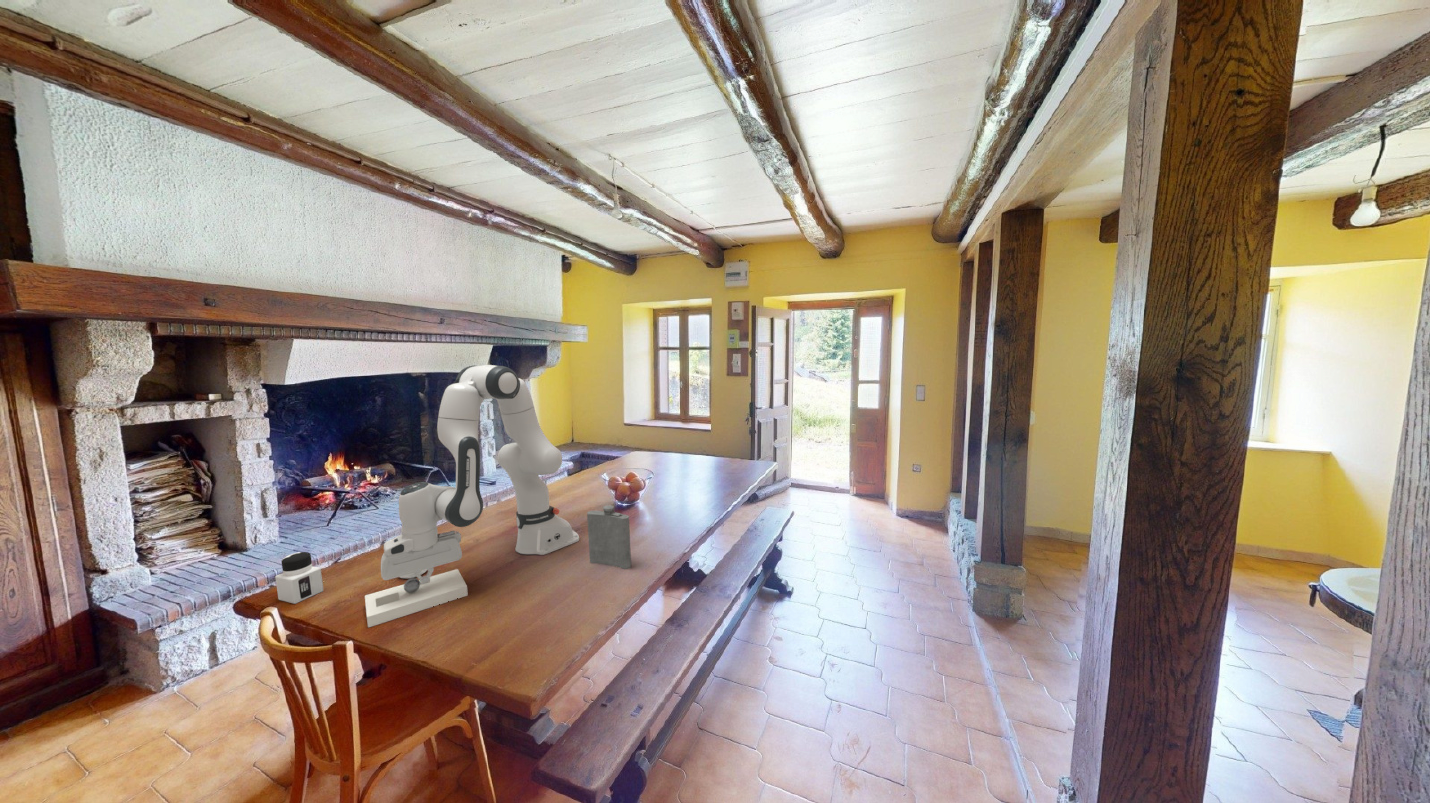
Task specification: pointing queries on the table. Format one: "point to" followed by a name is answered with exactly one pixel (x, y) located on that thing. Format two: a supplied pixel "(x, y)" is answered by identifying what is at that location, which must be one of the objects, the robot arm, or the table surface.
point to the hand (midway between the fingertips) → (425, 582)
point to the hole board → (414, 598)
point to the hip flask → (609, 538)
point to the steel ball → (411, 585)
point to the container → (298, 578)
